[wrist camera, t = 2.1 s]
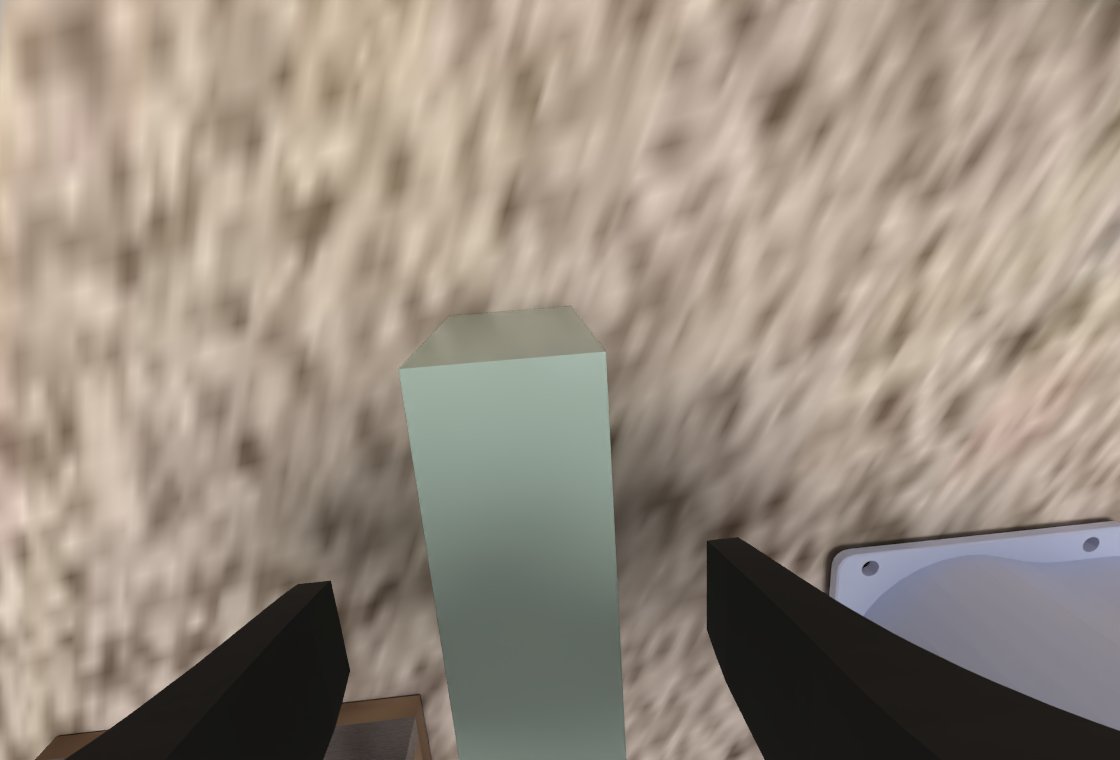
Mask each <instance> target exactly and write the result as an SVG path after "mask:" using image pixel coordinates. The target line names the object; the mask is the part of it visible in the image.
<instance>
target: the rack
mask: <svg viewBox="0 0 1120 760" xmlns="http://www.w3.org/2000/svg"><path fill="white" fill-rule="evenodd" d="M104 732H106V731H101V732H92V733H83V734H75V735H66V736H57V737H56V738H55V739H54V740H53V741H52V742H51V743H50V744H49V745H48V746H47V747H46V748H45V750H44V751H43V752H42V753H41V754H40V755H39V756H38V757H37V758H36V759H35V760H64V759H66V758H67V757H69V756H70V755H72V754H73V753H75V752H76V751H78V750H79V749H81V748H82V747H84V746H85V745H87V744H89V743H90V742H91V741H93V740H94V739H96V738H97V737H99V736H100V735H102V734H103V733H104ZM323 760H431V755H430V749H429V743H428V738H427V732H426V726H425V720H424V715H423V709H422V703H421V698H420V695H414V696H405V697H396V698H388V699H379V700H370V701H362V702H353V703H344V704H342V705H341V709H340V712H339V716H338V720H337V723H336V727H335V730H334V733H333V735H332V738H331V741H330V743H329V746H328V749H327V751H326V754H325V756H324V759H323Z"/></svg>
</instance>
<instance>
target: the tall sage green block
mask: <svg viewBox="0 0 1120 760" xmlns="http://www.w3.org/2000/svg"><path fill="white" fill-rule="evenodd" d="M399 375H400V382H401V388H402V394H403V401H404V407H405V414H406V420H407V427H408V433H409V440H410V446H411V452H412V459H413V465H414V472H415V478H416V485H417V491H418V497H419V504H420V510H421V517H422V523H423V530H424V536H425V542H426V549H427V555H428V562H429V568H430V575H431V581H432V588H433V594H434V600H435V607H436V613H437V620H438V626H439V633H440V639H441V645H442V652H443V658H444V665H445V671H446V678H447V684H448V690H449V697H450V703H451V710H452V716H453V723H454V729H455V735H456V742H457V748H458V755H459V760H626V746H625V726H624V706H623V686H622V666H621V646H620V626H619V606H618V586H617V566H616V546H615V526H614V506H613V486H612V466H611V446H610V426H609V406H608V386H607V366H606V351H605V350H604V348H603V347H602V346H601V344H600V343H599V342H598V340H597V339H596V338H595V336H594V335H593V334H592V332H591V331H590V330H589V328H588V327H587V326H586V324H585V323H584V321H583V320H582V319H581V317H580V316H579V315H578V313H577V312H576V311H575V309H574V308H573V307H572V306H564V307H551V308H539V309H527V310H514V311H502V312H489V313H477V314H464V315H452V316H449V317H448V318H447V319H446V320H445V321H444V322H443V323H442V324H441V325H440V326H439V327H438V328H437V329H436V330H435V331H434V333H433V334H432V335H431V336H430V337H429V338H428V339H427V340H426V341H425V342H424V343H423V344H422V345H421V346H420V347H419V348H418V349H417V350H416V351H415V352H414V353H413V355H412V356H411V357H410V358H409V359H408V360H407V361H406V362H405V363H404V364H403V365H402V366H401V367H400V368H399Z"/></svg>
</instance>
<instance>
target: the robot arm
mask: <svg viewBox="0 0 1120 760" xmlns="http://www.w3.org/2000/svg"><path fill="white" fill-rule="evenodd" d="M869 561H870V563H869V564H868V565H867V566H866V567H864V568H862V567H863V565H864V564H865V563H866V562H869ZM707 631H708V634H709V637H710V640H711V643H712V645H713V648H714V651H715V654H716V657H717V659H718V662H719V665H720V667H721V670H722V673H723V675H724V678H725V681H726V683H727V685H728V687H729V689H730V691H731V693H732V695H733V697H734V699H735V701H736V703H737V705H738V707H739V709H740V711H741V713H742V715H743V717H744V719H745V721H746V723H747V725H748V727H749V729H750V731H751V733H752V735H753V737H754V739H755V741H756V743H757V745H758V747H759V749H760V751H761V753H762V755H763V757H764V759H765V760H1120V522H1119V521H1108V522H1099V523H1089V524H1080V525H1070V526H1061V527H1051V528H1042V529H1033V530H1023V531H1014V532H1004V533H995V534H985V535H976V536H967V537H957V538H948V539H938V540H929V541H919V542H910V543H901V544H891V545H882V546H872V547H863V548H853V549H847V550H843V551H841V552H840V553H838V554H837V555H836V556H835V558H834V559H833V562H832V566H831V580H830V594H829V596H828V595H827V594H825V593H824V592H822V591H820V590H819V589H817V588H816V587H814V586H812V585H811V584H809V583H808V582H806V581H805V580H803V579H802V578H800V577H798V576H797V575H795V574H794V573H792V572H791V571H789V570H788V569H786V568H785V567H783V566H782V565H780V564H779V563H777V562H776V561H774V560H773V559H771V558H769V557H768V556H766V555H765V554H763V553H762V552H760V551H759V550H757V549H756V548H754V547H753V546H751V545H749V544H748V543H746V542H745V541H743V540H741V539H740V538H738V537H737V538H728V539H718V540H709V541H707ZM349 673H350V668H349V663H348V659H347V654H346V649H345V645H344V640H343V635H342V631H341V626H340V621H339V617H338V612H337V607H336V603H335V598H334V594H333V589H332V584H331V581H324V582H315V583H305V584H298V585H296V586H295V587H293V588H292V589H290V590H289V591H288V592H286V593H285V594H284V595H282V596H281V597H280V598H278V599H277V600H276V601H275V602H273V603H272V604H271V605H270V606H268V607H267V608H266V609H265V610H263V611H262V612H261V613H260V614H258V615H257V616H256V617H255V618H253V619H252V620H251V621H250V622H248V623H247V624H246V625H245V626H244V627H242V628H241V629H240V630H239V631H237V632H236V633H235V634H234V635H232V636H231V637H230V638H229V639H227V640H226V641H225V642H224V643H222V644H221V645H220V646H219V647H217V648H216V649H215V650H214V651H212V652H211V653H210V654H209V655H208V656H206V657H205V658H204V659H203V660H201V661H200V662H199V663H197V664H196V665H195V666H194V667H192V668H191V669H190V670H188V671H187V672H186V673H184V674H183V675H182V676H180V677H179V678H178V679H176V680H175V681H174V682H172V683H171V684H170V685H168V686H167V687H166V688H164V689H163V690H162V691H161V692H159V693H158V694H157V695H155V696H154V697H153V698H151V699H150V700H149V701H147V702H146V703H145V704H143V705H142V706H141V707H139V708H138V709H137V710H135V711H134V712H133V713H131V714H130V715H129V716H127V717H126V718H124V719H123V720H122V721H120V722H119V723H117V724H116V725H115V726H113V727H112V728H110V729H109V730H107V731H106V732H104V733H103V734H102V735H100V736H99V737H97V738H96V739H94V740H93V741H91V742H90V743H89V744H87V745H85V746H84V747H82V748H81V749H79V750H78V751H76V752H75V753H73V754H72V755H70V756H69V757H67V758H66V759H64V760H323V759H324V756H325V754H326V751H327V749H328V746H329V743H330V741H331V738H332V735H333V733H334V730H335V727H336V723H337V720H338V716H339V712H340V709H341V705H342V701H343V697H344V693H345V689H346V685H347V681H348V677H349Z"/></svg>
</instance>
